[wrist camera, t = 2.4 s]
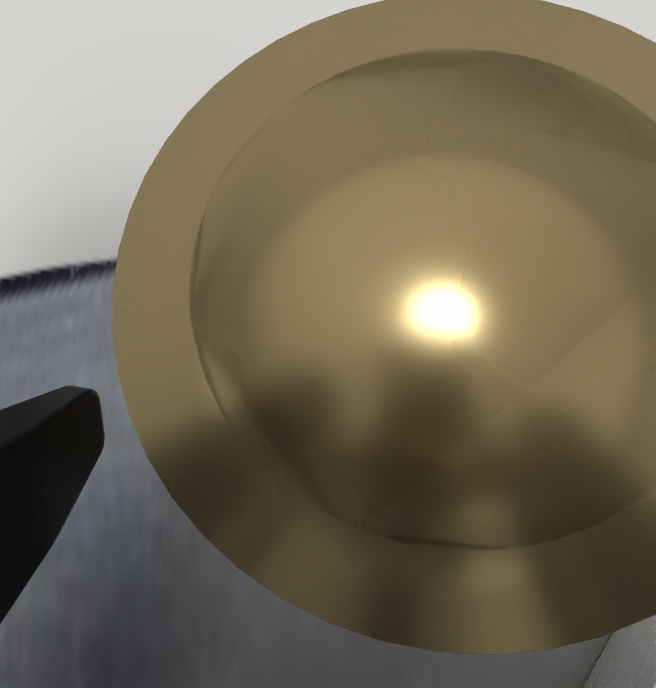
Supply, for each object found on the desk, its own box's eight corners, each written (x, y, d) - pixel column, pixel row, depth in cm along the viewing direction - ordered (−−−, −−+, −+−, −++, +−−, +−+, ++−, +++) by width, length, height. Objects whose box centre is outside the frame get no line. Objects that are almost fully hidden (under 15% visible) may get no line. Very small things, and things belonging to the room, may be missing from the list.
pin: (430, 609, 16) (603, 861, 3) (270, 489, 17) (-26, 355, 5) (534, 442, 17) (955, 174, 4) (376, 340, 18) (363, -88, 6)
